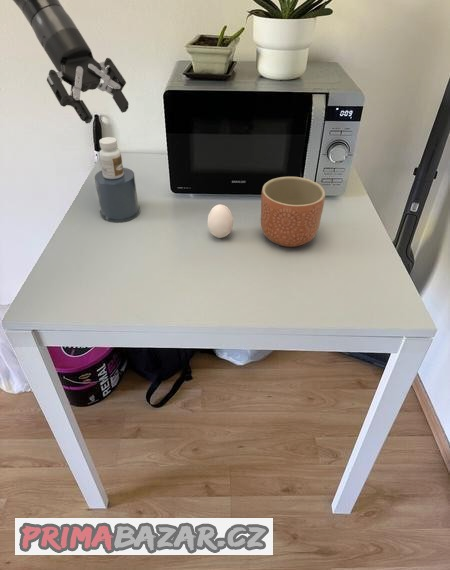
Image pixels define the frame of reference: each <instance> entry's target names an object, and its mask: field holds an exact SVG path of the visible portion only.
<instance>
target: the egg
mask: <svg viewBox="0 0 450 570" xmlns="http://www.w3.org/2000/svg"><path fill="white" fill-rule="evenodd" d="M233 227H234V218H233V214H232V212H231V210H230V208H229V207H227V206H226V205H224V204H216V205H215V206H213V208H211V209H210V211H209V212H208V216H207V228H208V230H209V232H210V234H211V235H212V236H214V237H216V238H218V239H221V238H225V237H227V236H228V235H229V234H230V233H231V232H232V230H233Z"/></svg>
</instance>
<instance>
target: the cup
mask: <svg viewBox="0 0 450 570" xmlns="http://www.w3.org/2000/svg"><path fill="white" fill-rule="evenodd" d="M123 172H124V174H123V176H122V177H120V178H118V179H106V178H105V177H104V176H103V173H102V169H101V170H99V171H98V172H96V173H95V175H94V183H95V188H96V193H97V199H98V204H99V208H100V210H99V214H100V217H101V218H102V219H103V220H104V221H106V222H109V223H116V224H117V223H126V222H129V221H132V220H135V219H136V218H137V217H139V215H140V214H141V206H140V205H139V198H138V192H137V185H136V177H135V172H134V171H133V170H132V169H130V168H127V167H123Z"/></svg>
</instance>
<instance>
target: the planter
mask: <svg viewBox="0 0 450 570" xmlns="http://www.w3.org/2000/svg"><path fill="white" fill-rule="evenodd" d="M260 198H261V199H260V224H261V226H260V227H261V230H262V233H263V234H264V236H265V237H266V238H267V239H268V240H269V241H270V242H272V243H274V244H275V245H278V246H281V247H286V248H296V247H300V246H304V245H306V244H308V243H310V242H311V241H312V240H313V239H314V238H315V236H317V233H318V231H319V228H320V224H321V219H322V215H323V211H324V205H325V200H326V191H325V189H324V187H323V186H322V185H320V184H319V183H318V182H316V181H314V180H311V179H308V178H305V177H299V176H280V177H276V178H272V179H270V180H268V181H267V182H265V183H264V184H263V186H262V189H261V197H260Z"/></svg>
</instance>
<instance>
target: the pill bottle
mask: <svg viewBox="0 0 450 570" xmlns="http://www.w3.org/2000/svg"><path fill="white" fill-rule="evenodd" d="M98 142H99V148H100V150H99V152H98V154H99V161H100V166H101V170H102V173H103V176H104V177H105V178H106V179H118V178H120V177H122V176H123V174H124V172H123V168H124V165H123V158H122V152H121V149H119V148H118V141H117V138H115V137H113V136H106V137H102V138H100V139H99V141H98Z"/></svg>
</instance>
